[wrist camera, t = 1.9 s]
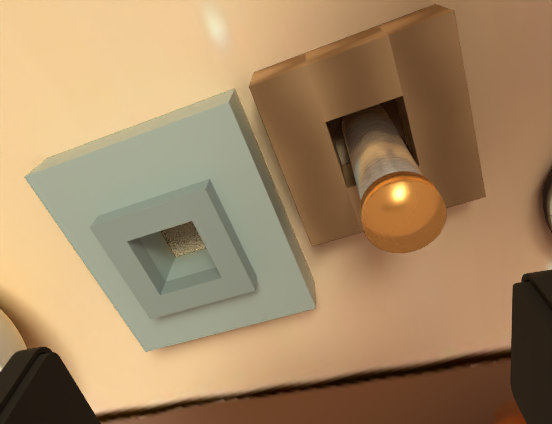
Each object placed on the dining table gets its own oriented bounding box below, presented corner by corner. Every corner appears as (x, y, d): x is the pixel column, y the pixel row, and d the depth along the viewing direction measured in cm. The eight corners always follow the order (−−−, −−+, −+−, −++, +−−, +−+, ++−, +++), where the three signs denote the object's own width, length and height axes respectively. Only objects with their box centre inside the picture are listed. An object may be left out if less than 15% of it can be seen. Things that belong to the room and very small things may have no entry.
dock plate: (234, 88, 28) (224, 109, 24) (314, 282, 36) (316, 322, 32) (47, 158, 31) (11, 187, 27) (155, 325, 38) (139, 366, 34)
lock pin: (385, 90, 28) (437, 170, 18) (397, 140, 30) (453, 240, 19) (331, 109, 29) (352, 196, 18) (347, 156, 30) (373, 261, 20)
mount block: (435, 4, 26) (454, 10, 23) (466, 172, 31) (485, 196, 28) (254, 72, 28) (248, 86, 25) (310, 219, 33) (312, 246, 30)
